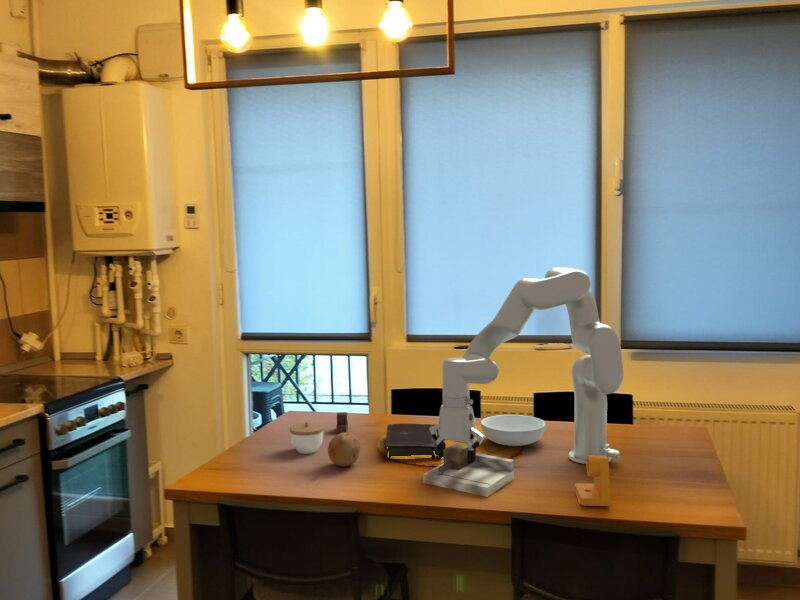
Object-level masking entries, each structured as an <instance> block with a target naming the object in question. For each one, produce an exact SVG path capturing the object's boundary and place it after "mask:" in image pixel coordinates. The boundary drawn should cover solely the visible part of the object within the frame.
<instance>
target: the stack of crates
mask: <svg viewBox="0 0 800 600" xmlns="http://www.w3.org/2000/svg"><path fill="white" fill-rule="evenodd" d="M335 429H336V430H335V431H336V435H338V434H340V433H345V432H347V433H348V429H349V422H348V412H345V411H343V412H339V411H338V412H337V413H336V427H335Z"/></svg>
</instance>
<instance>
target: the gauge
mask: <svg viewBox="0 0 800 600" xmlns="http://www.w3.org/2000/svg"><path fill="white" fill-rule="evenodd" d="M443 450H444V457H443V463H444V465H442V466H440V467H439V468H438V472H441V473H443V472H444V471H446V470H448V469H449V468H454V469H461V468H463V467H464V466H466V465H468V450H469V448H468V447H467V445H461V444H456V443H453V444H452V445H449V446H448V447H446V448H445V449H443Z"/></svg>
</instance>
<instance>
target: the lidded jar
mask: <svg viewBox="0 0 800 600" xmlns="http://www.w3.org/2000/svg"><path fill="white" fill-rule="evenodd" d="M324 429H325V428H324V426H323V425H322V424H321V423H318V422H308V421H304V422H302V423H301V422H300V423H296V424H293V425H292V426H290V427H289V434H290V435H289V438H290V442H291V445H292V446H293V448H294V449H295V450H296V451H297V453H299V454H304V455H305V454H306V455H307V454H308V455H309V454H314V453H316V452H317V451H318V450H319V449H320V447H321V446H322V444H323V440H324Z"/></svg>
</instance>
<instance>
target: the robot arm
mask: <svg viewBox="0 0 800 600" xmlns="http://www.w3.org/2000/svg"><path fill="white" fill-rule="evenodd" d="M591 285H592V284H591V279H590V277H589V275H588V274H587V273H586V272H585V271H583V270H580V269H577V268H569V267H563V266H560V267H559V266H557V267H552V268H550V269H548V270H547V272H546V273H545V276H544V278H532V277H524V278H520V279H519V280H518V281H517V282H516V283H515V284H514V286H513V287H512V289H511V290H510V292H509V293H508V296H507V297H506V299H505V301H504V302H503V304H502V305H501V307H500V309H499V310H498V312H497V313H496V315H495V317H494V318H493V319H492V320H491V321H490V322H489V323H488V324H487V325H485V326H484V328H482V330H480V331H479V332H478V333H477V334H476V335H475V337H474V338H473V339H472V340H471V342H470V344H469V345H468V347H467V349H466V350H465V351H464V354H463V356H462V357H448V358H445V359H444V360H443V361H442V404H441V405H440V408H439V414H438V416H439V417H438V423H436V424H437V425H435V426H432V427H430V428H429V429H430V432H431V434H432V437H433V439H434V440H435V441H436V444H437V453H438V456H437V459H441V458H442V457H443V458H444V450H443V449H445V448H447V447H446V446H447V445H446V442H445V441H451V442H455V443H461V444H465V446H467V447H468V448H469V450H468V464H472V463H473V462H475V460H476V453H477V452H476V451H477V450H476V449H478V447H479V446H480V445H481V444H482V443H483V441H484V439H485V434H482V433H481V432H480V431H479V430H477V429H476V422H475V421H476V420H475V414H474V409H473V406H471V405H473V403H474V400H473V399H471V396H470V385H471V384H475V385H488V384H491V383H494V381H495V380H496V379H497V378H498V377H499V373H500V371H499V366H498V365H497V363H496V362H495V361H494V360H493V359H491V358H490V357H491V356H492V354H493V353H494V351H496V349H497V348H498V347H499V346H500V345H502V344H503V343H505V342H507V341H508V342H509V341H511V340H512V339H515V338H516V337H518V336H519V335H520V334H521V333H522V331H523V329H524V328H525V326H526V324H527V323H528V321H529V319H530V317H531V316H532V314H533V313H534V311H535V310H538V311H543V310H544V311H545V310H549V309H552V308H557V307H560V306H562V305H565V307H566V309H567V315H568V321H569V328H570V336H571V342H572V345H573V346H574V348H575V349H576V350H578V351H580V352H583V353H585V355H580V356H579V357H578V358H576V359H575V361H574V362H573V365H572V368H571V380H572V383H573V384H572V386H573V391H574V395H573V396H574V397H573V398H574V406H573V407H574V408H573V410H574V415H573V416H574V417H573V418H574V420H573V421H574V422H573V425H574V428H573V450H571V451H569V453H568V458H569V459H570V461H573V462H575V463H579V464H582V465H586V461H587V456H588V455H606V456H607V458H608V463H610V462H611V461H612V458H614V459H616V460H617V459H620V458H621V452H620V451H619V450H617V449H612V448H611V447H610V443H607V427H608V425H607V424H608V423H607V421H608V413H607V412H608V397H607V395H610V394H614V393H616V392H617V391H619V390H620V388H621V386H622V384H623V382H624V366H623V365H624V364H623V357H622V349H621V343H620V342H621V341H620V339H619V336H618V333H617V332H616V331H615V329H614V328H613V327H611V326H610V325H608V324H605V323H604V324H603V323H601V321H600V317H599V316H600V315H599V312H598V311H599V310H598V306H597V301H596V298H595V296H594V294H593V291H592V290H591V287H592V286H591ZM437 429H438V433H439V435H438V433H437V431H436V430H437ZM475 439H476V440H475ZM443 458H442V459H443Z"/></svg>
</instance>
